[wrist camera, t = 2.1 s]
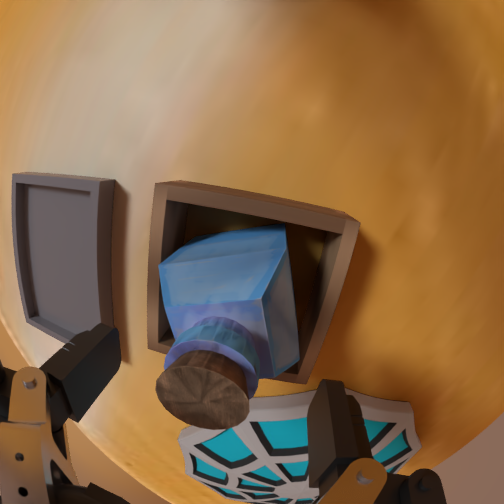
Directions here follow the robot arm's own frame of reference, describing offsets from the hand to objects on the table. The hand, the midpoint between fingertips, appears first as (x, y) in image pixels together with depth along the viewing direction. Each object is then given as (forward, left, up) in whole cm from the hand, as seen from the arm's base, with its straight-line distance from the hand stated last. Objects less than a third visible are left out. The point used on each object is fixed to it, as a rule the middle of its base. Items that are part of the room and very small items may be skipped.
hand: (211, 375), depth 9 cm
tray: (+3, -17, -10) cm, 20 cm away
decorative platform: (+24, +11, -11) cm, 28 cm away
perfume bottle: (0, 0, -11) cm, 11 cm away
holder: (0, 0, -10) cm, 10 cm away
